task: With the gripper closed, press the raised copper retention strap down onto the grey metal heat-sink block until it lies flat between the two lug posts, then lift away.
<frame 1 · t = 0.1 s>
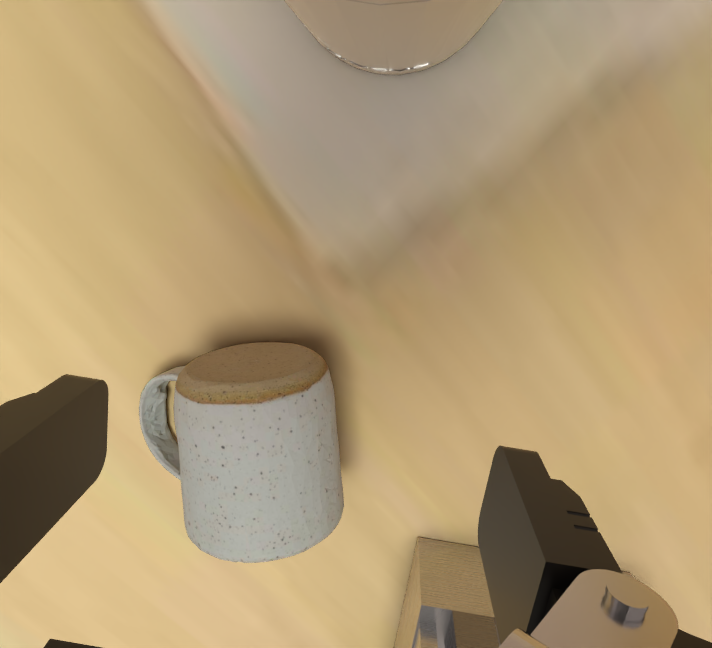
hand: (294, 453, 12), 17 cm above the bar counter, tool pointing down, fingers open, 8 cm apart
ceramic mug: (251, 410, 31), on the bar counter
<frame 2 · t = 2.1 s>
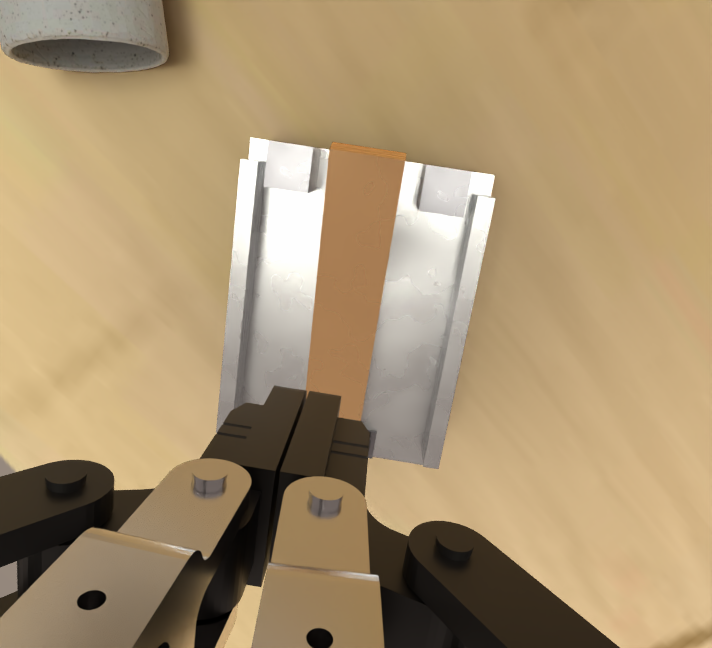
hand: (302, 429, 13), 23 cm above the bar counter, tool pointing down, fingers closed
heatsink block: (354, 292, 35), on the bar counter
strap: (343, 329, 27), point 8 cm above the bar counter, hinge at 16.8°, touching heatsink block
ceramic mug: (92, 1, 32), on the bar counter
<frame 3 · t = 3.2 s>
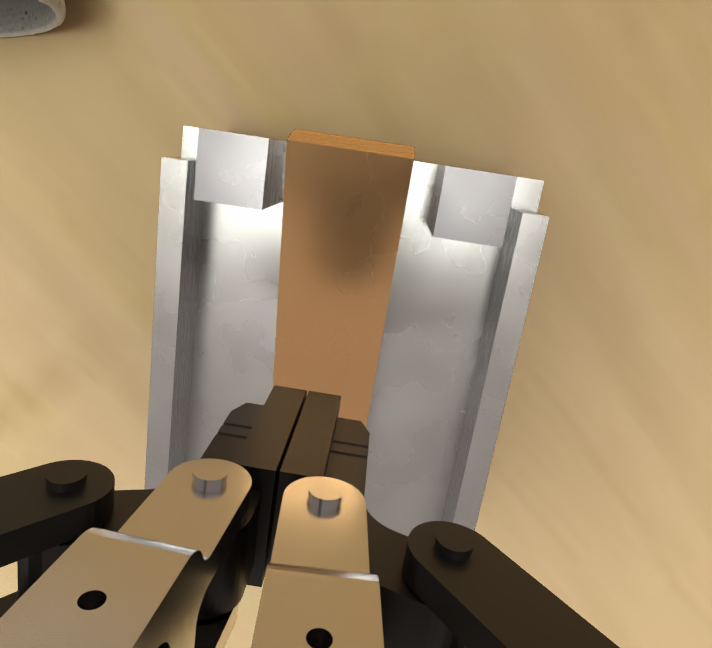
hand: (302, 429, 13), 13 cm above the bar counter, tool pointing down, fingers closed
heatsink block: (341, 337, 26), on the bar counter
strap: (319, 413, 18), point 8 cm above the bar counter, hinge at 16.8°, touching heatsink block
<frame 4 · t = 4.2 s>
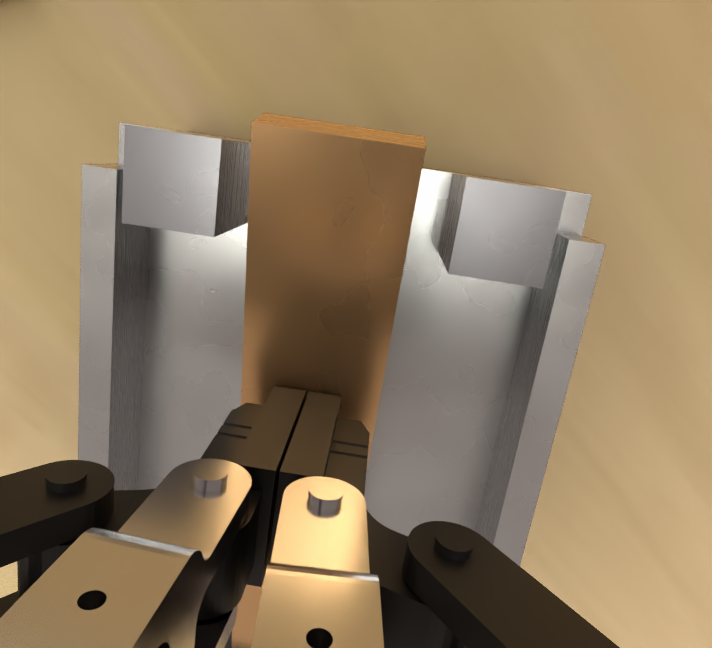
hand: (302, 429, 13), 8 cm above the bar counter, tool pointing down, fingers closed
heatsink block: (331, 379, 22), on the bar counter
strap: (300, 486, 14), point 8 cm above the bar counter, hinge at 12.9°, touching gripper, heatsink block
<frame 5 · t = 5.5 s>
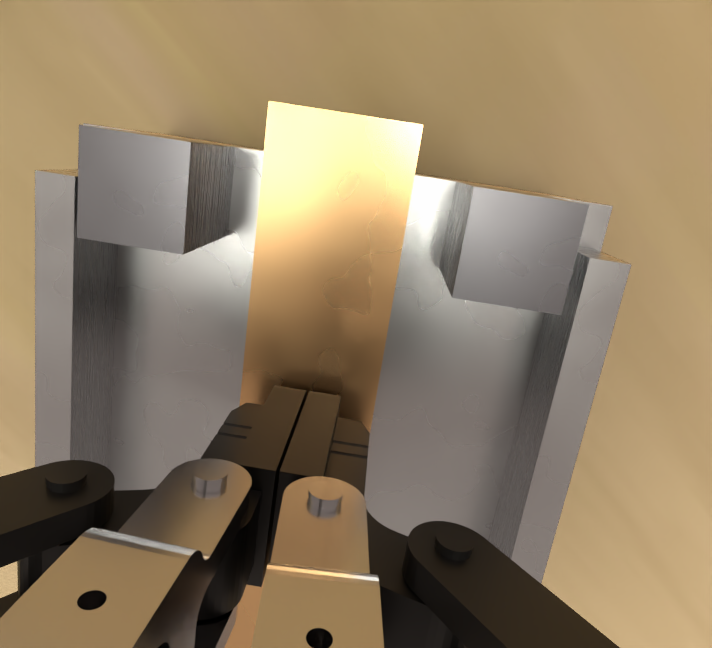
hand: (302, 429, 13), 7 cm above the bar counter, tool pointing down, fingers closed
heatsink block: (323, 403, 20), on the bar counter
strap: (296, 484, 14), point 6 cm above the bar counter, hinge at 1.8°, touching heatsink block
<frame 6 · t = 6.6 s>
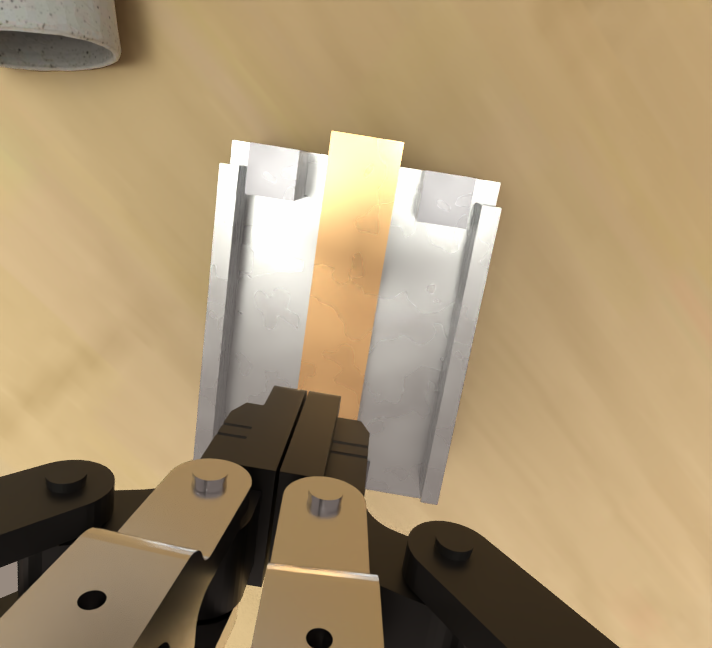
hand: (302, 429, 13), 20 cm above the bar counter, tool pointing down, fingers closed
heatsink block: (347, 308, 33), on the bar counter
strap: (339, 328, 26), point 6 cm above the bar counter, hinge at 1.8°, touching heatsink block
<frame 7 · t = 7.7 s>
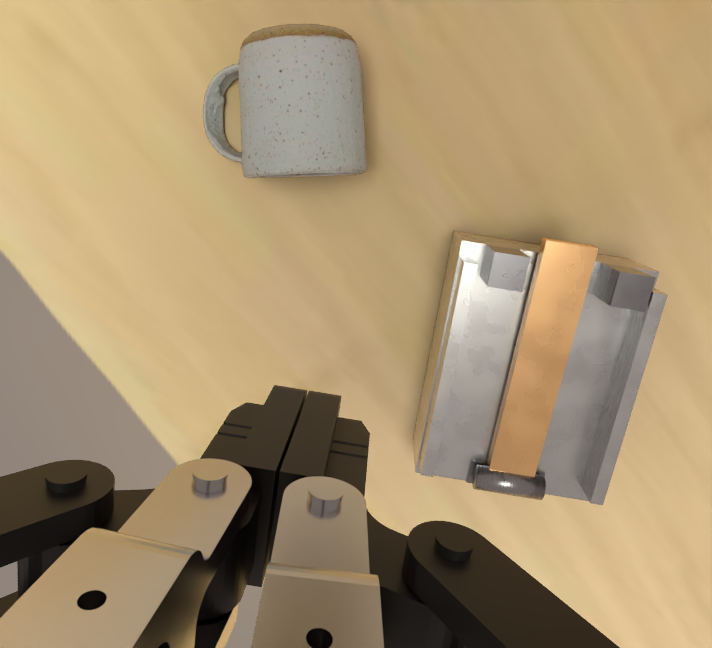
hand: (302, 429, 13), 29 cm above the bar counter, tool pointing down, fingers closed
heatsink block: (514, 353, 42), on the bar counter
strap: (536, 376, 36), point 6 cm above the bar counter, hinge at 1.8°, touching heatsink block
ceramic mug: (291, 120, 39), on the bar counter
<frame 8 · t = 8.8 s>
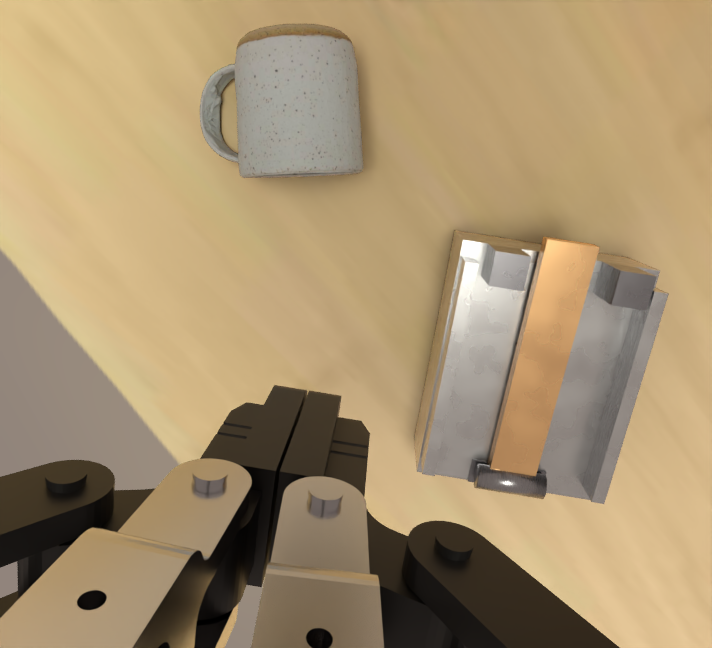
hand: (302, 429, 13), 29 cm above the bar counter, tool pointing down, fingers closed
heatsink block: (515, 352, 42), on the bar counter
strap: (537, 375, 36), point 6 cm above the bar counter, hinge at 1.8°, touching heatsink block
ceramic mug: (288, 120, 39), on the bar counter
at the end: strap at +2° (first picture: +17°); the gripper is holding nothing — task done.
